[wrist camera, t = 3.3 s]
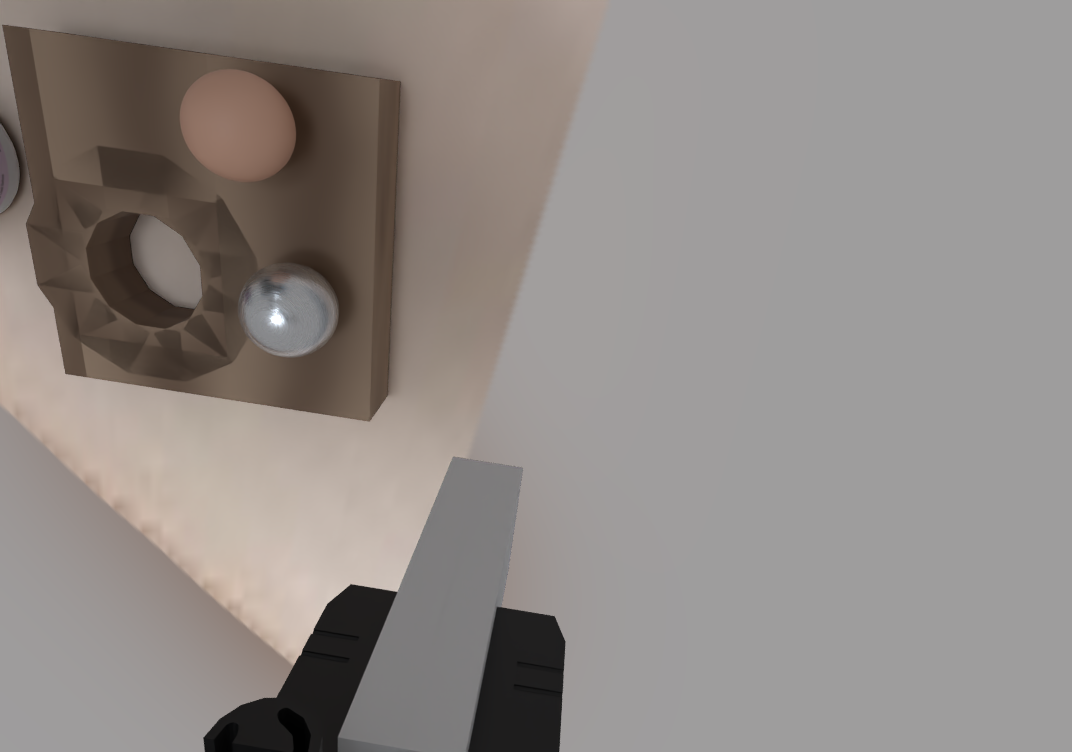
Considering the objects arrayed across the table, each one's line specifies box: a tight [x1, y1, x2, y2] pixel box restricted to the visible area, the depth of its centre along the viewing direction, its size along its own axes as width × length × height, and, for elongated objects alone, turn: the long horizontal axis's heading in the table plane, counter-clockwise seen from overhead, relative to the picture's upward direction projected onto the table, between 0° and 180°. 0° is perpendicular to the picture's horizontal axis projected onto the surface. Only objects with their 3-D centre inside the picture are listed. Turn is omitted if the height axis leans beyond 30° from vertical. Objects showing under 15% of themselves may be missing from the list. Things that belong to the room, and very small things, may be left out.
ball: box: [238, 263, 339, 358], centre depth 23 cm, size 3×3×3 cm
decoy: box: [180, 69, 296, 182], centre depth 21 cm, size 3×3×3 cm
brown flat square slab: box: [2, 25, 400, 421], centre depth 25 cm, size 14×13×2 cm
